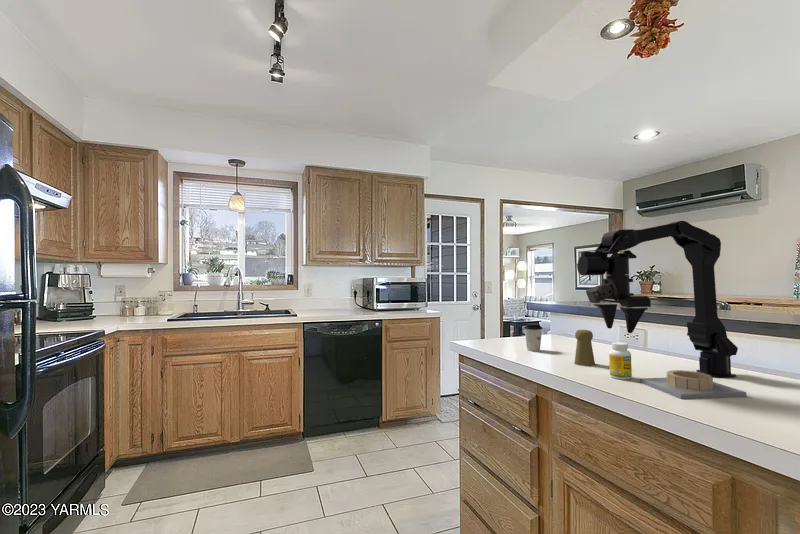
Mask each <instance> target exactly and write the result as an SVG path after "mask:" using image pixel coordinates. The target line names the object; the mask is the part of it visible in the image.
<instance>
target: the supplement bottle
mask: <svg viewBox="0 0 800 534" xmlns="http://www.w3.org/2000/svg"><path fill="white" fill-rule="evenodd" d="M611 348H612V349H610V351H609V354H608V355H609V357H608V358H609V359H608V360H609V376H610V378H612V379H616V380H620V381H621V380H622V381H623V380H624V381H628V380H631V379H632V375H633V373H632V372H633V371H632V368H633V367H632V354H631V352H630V350H629V344H628V343H627V342H620V341H616V342H614V341H613V342H611Z"/></svg>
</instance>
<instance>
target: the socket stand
mask: <svg viewBox="0 0 800 534" xmlns="http://www.w3.org/2000/svg"><path fill="white" fill-rule="evenodd" d="M713 379H714V377H713V376H710V375H707V374H704V373H699V372H696V371H692V370H691V371H690V370H683V369H681V370H679V369H677V370H669V371H666V377H641V378H639V383H640V384H643V385H646V386H647V387H650V388H654V389H656V390H658V391H662V392H663V393H665V394H668V395H671V396H673V397H676V398H678V399H681V400H682V399H685V400H686V399H709V398H710V399H711V398H713V399H714V398H736V397H737V398H738V397H740V398H741V397H747V392H746V391H744V390H740V389H738V388H735V387H731V386H728V385H725V384H722V383H719V382H715V381H714V380H713Z"/></svg>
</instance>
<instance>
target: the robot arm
mask: <svg viewBox="0 0 800 534" xmlns="http://www.w3.org/2000/svg"><path fill="white" fill-rule="evenodd" d="M669 237H671V238H672V239H673V240H674V242H675V244H676V245H678V246H679V247H680V248H681V249H683V252H684V257H685V258H686V260H687V262H688V263H689V264H690V265H691V268H692V269H691V271H692V283H693V296H694V297H693V298H694V311H695V314H694V317H693V319H692V321H687V322H686V327H687V333H686V336H688V337H689V340H690V341H689V342H691V343H692V344H693V348H694V350H695V351H699V355H700V356H699V358H698V359H699V361H698V362H699V364H698V365H699V366H698V367H699V369H696V371H695V372H699V373H704V374H707V375H710V376H711V377H713V378H726V377H727V378H728V377H729V378H730V377H731V378H732V377H737V374H734V373H732V370H731V369H732V367H731V365H732V364H731V357H732V356H737V353H738V350H739V347H738V346H737V345H736V344H734V342H733V341H732V340H731V339H729V338H728V335H727V330H726V326H725V325H724V323H723V322H722V321H721V319H720V318H719V316H718V304H717V289H716V287H717V286H716V275H715V274H716V273H715V264H716V263H717V262H718V259H719V258H720V256H721V250H722V249H721V247H722V242H721V239H720V237H717V235H715V234H712V233H710V232H709V231H707V230H705V229H702V228H701V227H697V226H694V225H692V224H691V223H689V222H688V221H685V220H677V221H671V222H670V223H667V224H666V223H665V224H662V225H661V224H660V225H657V226H652V227H648V228H641V229H635V228H634V229H632V228H631V229H627V228H626V229H618V230H612V231H607V232H606V233H603V235H602V237H601V242H600V243H599V245H598V246H597V247H596V249H595V251H587V250H586V251H585V250H584V251H581V252H580V257H578V261H577V263H576V268H577V272H578V274H579V275H581V276H582V277H583V276H585V277H586V276H603V275H605V278H602V280H601V284H599V285H596V286H594V287H591V288H588V289H587V290H585V293H586V296H587V299H588V301H589V302H590V303H593V304H592V305H593V306H595V307H596V308H597V309H599V311H600V313H601V315H602V317H603V321H604V323H605V325H606V327H607V329H612V328H613V326H614V322H615V318H616V317H615V316H616V312H617V309H618V304H620V305H621V307H619V309H620V310H621V311H622V312H623V313H624V317H625V324H626V330H627V333H628V334H632V333H633V332H634V331H635V328H636V327H637V325H638V323H639V321H640V319H641V317H642V316H643V314H644V313H645V311H646V310H648V308H651V307H652V300H651V298H650V297H649V296H648V295H640V294H639V295H635V294H634V293H633V292H631V289H630V288H631V285H630V283H634V278H630V260H629V259H637V255H636V254H635V253H633V252H632V251H631V250H630V249H632V248H634V247H637V246H638V245H639V244H642V243H645V242H646V243H647V242H649V241H654V240H659V239H664V238H669ZM621 251H623V252H621ZM608 255H610V256H608Z"/></svg>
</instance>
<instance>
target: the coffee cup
mask: <svg viewBox="0 0 800 534" xmlns="http://www.w3.org/2000/svg"><path fill="white" fill-rule="evenodd" d="M523 329H524V335H525V343H526V350H527V351H528V352H540V351H541V343H542V334H543V333H542V332H543V326H542V325H541V324H539V323H526V325H524V326H523Z"/></svg>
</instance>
